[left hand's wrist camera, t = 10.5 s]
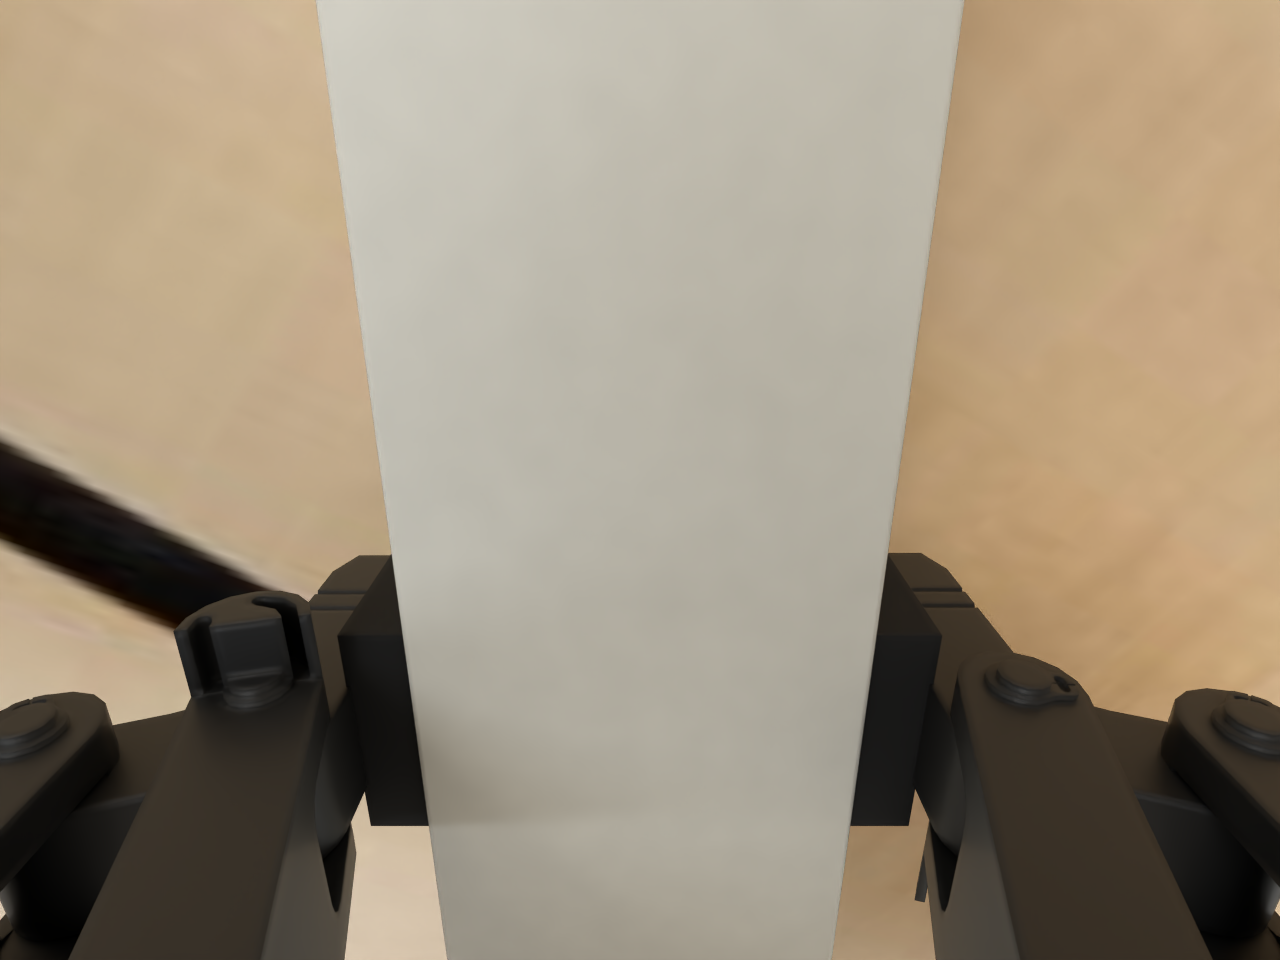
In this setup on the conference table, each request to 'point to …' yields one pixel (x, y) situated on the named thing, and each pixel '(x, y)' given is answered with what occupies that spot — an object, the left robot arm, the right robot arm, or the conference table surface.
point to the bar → (639, 439)
